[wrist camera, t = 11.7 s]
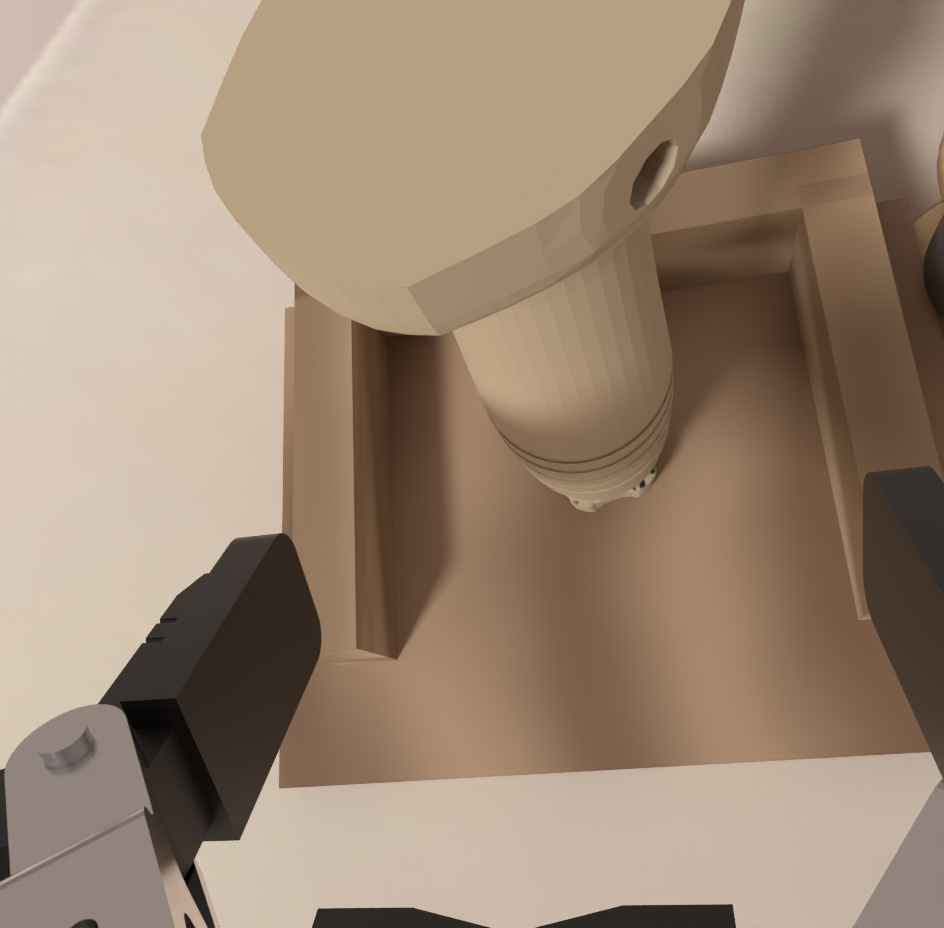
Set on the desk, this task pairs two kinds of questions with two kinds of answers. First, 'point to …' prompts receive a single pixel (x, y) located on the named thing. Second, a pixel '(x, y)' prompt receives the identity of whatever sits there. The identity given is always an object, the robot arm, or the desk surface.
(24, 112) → the desk surface
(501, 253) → the handle
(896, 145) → the desk surface
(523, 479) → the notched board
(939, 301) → the bobbin
